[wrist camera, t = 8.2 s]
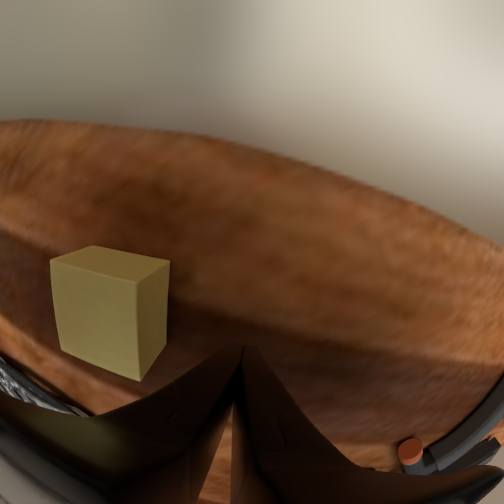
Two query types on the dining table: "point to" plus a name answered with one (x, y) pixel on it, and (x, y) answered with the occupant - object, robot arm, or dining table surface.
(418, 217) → the dining table surface
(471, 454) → the hand grip strengthener
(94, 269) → the butter
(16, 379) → the knife
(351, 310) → the dining table surface
